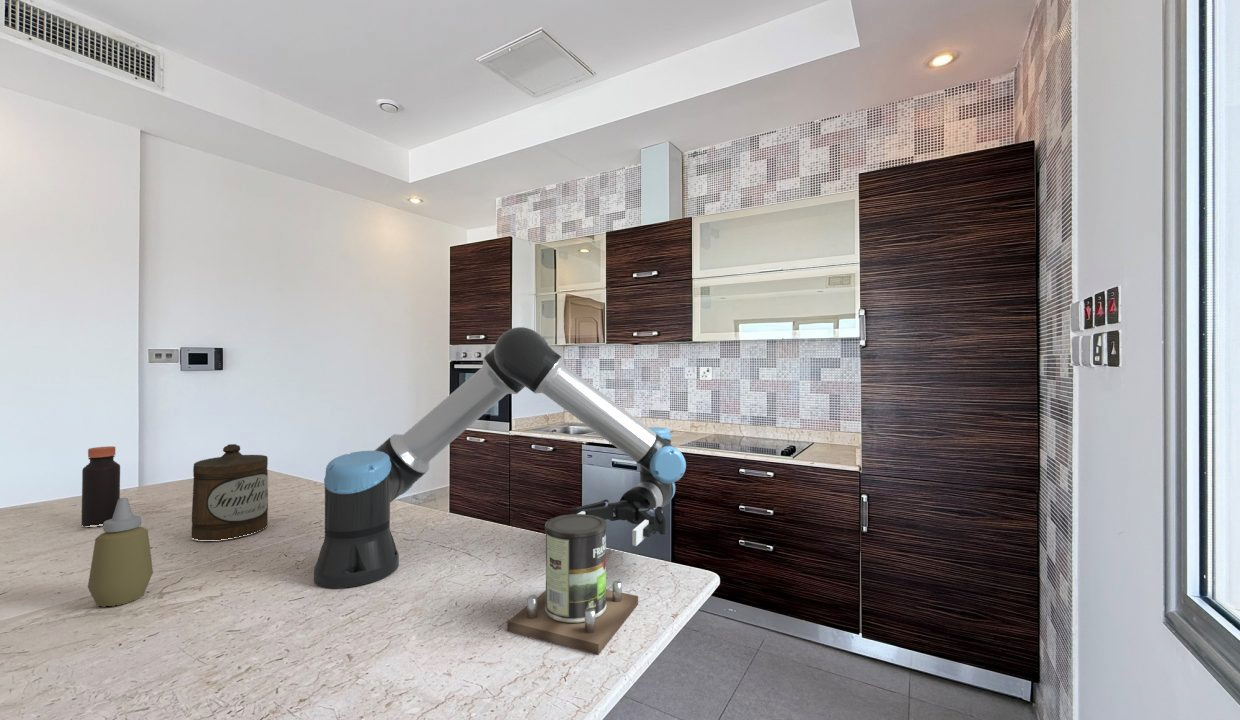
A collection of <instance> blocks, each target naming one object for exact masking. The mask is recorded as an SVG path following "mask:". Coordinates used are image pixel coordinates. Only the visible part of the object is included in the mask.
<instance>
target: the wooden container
mask: <svg viewBox="0 0 1240 720" xmlns="http://www.w3.org/2000/svg"><path fill="white" fill-rule="evenodd" d="M240 451H241V445H237V444H236V443H230V444H227V445H225V446H224V447H223V448H222V452H224V453H223V454H222V456H217V457H211V458H207V459H201V460H199V461H195V463H193V468H192V469H193V471H192V472H193V474H192V475H193V486H192V488H193V489H192V504H191V539H192V538H194V539H198V540H221V539H228V538H234V537H239V536H243V535H247V534H251V533H254V532H257V531H259V530H261V529H263V528H265V527H266V526H267V527H268V517H269V515H268V514H269V481H268V479H269V476H268V474H269V472H268V465H269V463H268V462H269V461H268V456H267V455H264V454H243V453H241V452H240ZM267 527H266V528H267ZM266 528H265V529H266Z"/></svg>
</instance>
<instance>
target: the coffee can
mask: <svg viewBox="0 0 1240 720" xmlns="http://www.w3.org/2000/svg"><path fill="white" fill-rule="evenodd" d="M606 529H607V520H604V519H603V518H601V517H598V516H594V515H587V514H572V513H571V514H570V513H569V514H563V515H558V516H555V517H551V518H550V519H548V520H547V521H545V524H544V531H545V591H546V606H545V611H546V613H547V615H548V616H549V617H551V618H552V619H555V620H557V621H561V622H567V623H580V622H585V609H587V608H594V609H595V618H597V617H599V616H600V615H602V614H603V613H604V612H605V610H606V590H607V530H606Z"/></svg>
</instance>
